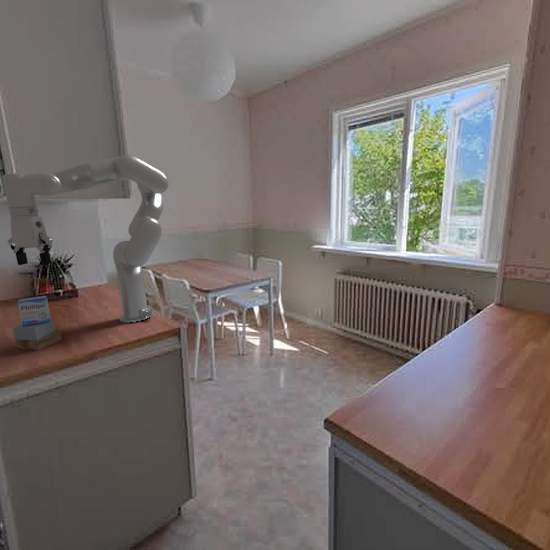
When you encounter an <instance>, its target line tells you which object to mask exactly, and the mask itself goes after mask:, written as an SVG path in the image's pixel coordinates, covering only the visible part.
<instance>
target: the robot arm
mask: <svg viewBox="0 0 550 550" xmlns="http://www.w3.org/2000/svg"><path fill="white" fill-rule="evenodd" d="M127 180H131V181H132V182H134V183H136V184H137V185H136V186H137V189H138V191H139V192H140V195H141V203H140V205H139V207H138V210H137V211H136V213H135V215H134V216H133V217H132V218H133V219H132V220H131V221H130V223H129V225H128V234H129V236H130V239H129V240H123V241H120V242H118V243H117V244H116V245H115V246H114V247H113V252H112V257H113V261H114V265H115V269H116V275H117V283H118V290H119V297H120V305H121V313H122V314H121V315H120V316H119V317H118V321H119V322H121V323H124V324H127V323H129V324H131V323H130V322H133V323H137V322H136V321H139V322H142V321H141V320H144V321H146V320H145V319H147V318H149V317H150V318H151V316H152V317H153V316H154V315H155V313H156V310H155V309H150V305H147V304H148V303H147V297H146V296H147V295H146V294H147V293H146V288H145V278H144V270H143V266H144V265H145V264H146V263H147V262H148V261H149V259H150V257H151V256H152V254H153V252H154V250H155V249H156V246H157V244H158V243H159V240H160V238H161V236H162V226H161V223H159V219H160V217H161V215H162V213H163V210H164V199H163V195H162V194H163V193H165V192H166V191H167V189H168V188H169V179H168V178H167V176H166V175H165V173H163V172H162V171H160V170H159V169H157V168H156V167H154V166H152V165H150V164H148V163H147V162H146V161H143V160H142V159H140V158H138V157H136V156H134V155H132V154H121V155H120V156H116V157H113V158H112V157H111V158H106V159H102V160H96V161H92V162H91V161H89V162H85V163H82V164H79V165H76V166H74V167H72V168H71V167H70V168H67V169H63V170H60V171H55V172H39V173H27V174H26V173H20V172H19V173H17V172H15V173H5V174H4V175H2V182H3V188H4V192H5V197H6V201H7V207H8V211H9V212H8V213H9V215H10V224H9V225H10V232H11V233H10V234H11V237H10V238H9V239H8V240H7V243H8V244H9V246H10V249H11V250H12V251H13V252H12V253H13V254H15V258H16V263H17V266H23V265H28V263H29V262H28V258H27V257H28V256H27V252H26V251H25V250H26V248H29V249H31V248H36V249H37V250H38V251H39V253H38V256H39V260H40V264H41V265H42V266H46V265H49V264H51V263H52V262H51V260H52V259H51V257H50V255H51V254H50V252H51V248H52V247H53V240H54V239H53V238H52V237H49V236H48V235H47V229H46V227H45V224H44V221H43V219H42V217H41V216H40V215H39V209H38V205H37V201H36V196H39V197H43V198H50V197H53V196H57V195H61V194H65V193H69V192H71V193H72V192H74V191H79V190H80V191H81V190H90V189H93V188H99V187H102V186H105V185H111V184H114V183H119V182H123V181H127ZM150 318H149V319H150ZM147 320H148V319H147Z"/></svg>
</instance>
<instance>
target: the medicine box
mask: <svg viewBox="0 0 550 550" xmlns="http://www.w3.org/2000/svg"><path fill="white" fill-rule="evenodd" d="M17 306H18V312H19V316H20V323H21V325H22V326H23V327H26V326H31V325H37V324H42V323H48V322H50V320H52V316H51V313H50V306H49V301H48V296H47V295H41V296H40V295H39V296H35V297H27V298H21V299H18V301H17Z"/></svg>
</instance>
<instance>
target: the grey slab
mask: <svg viewBox="0 0 550 550" xmlns="http://www.w3.org/2000/svg"><path fill="white" fill-rule="evenodd" d="M12 330H13V335H14V338H15V339H14V340H15V341H16V340H38V339H40V338H42V337H44V336H46V335H49V334H51V333H53V332H55V331H56V330H57V328H56V324H55V320H54V319H51V320H50V322H48V323H42V324H37V325H31V326H26V327H23V326H22V324H20V325H17V326H14V327H13V328H12Z"/></svg>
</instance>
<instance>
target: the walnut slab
mask: <svg viewBox="0 0 550 550" xmlns="http://www.w3.org/2000/svg"><path fill="white" fill-rule="evenodd" d="M60 341H63V338H62V332H61V329H60V330H58V329H56V331H55V332H53V333H51V334H49V335H46V336H44V337H42V338H40V339H38V340H15V343H16V349H18V348H21V349H20V350H28V349H30V350H31V351H40V349H41V350H42V348H43V349H45V348H48V347H50V346H52V345H54V344H56V343H58V342H60ZM49 345H50V346H49ZM30 350H29V351H30Z"/></svg>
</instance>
